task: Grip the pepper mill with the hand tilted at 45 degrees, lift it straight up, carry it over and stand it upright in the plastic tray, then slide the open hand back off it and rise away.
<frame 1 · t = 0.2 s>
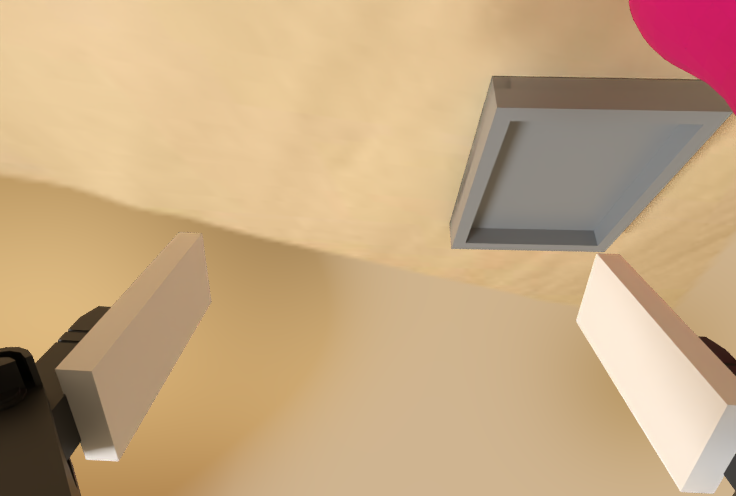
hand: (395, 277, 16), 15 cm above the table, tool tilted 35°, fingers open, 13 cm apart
tray: (555, 166, 34), on the table
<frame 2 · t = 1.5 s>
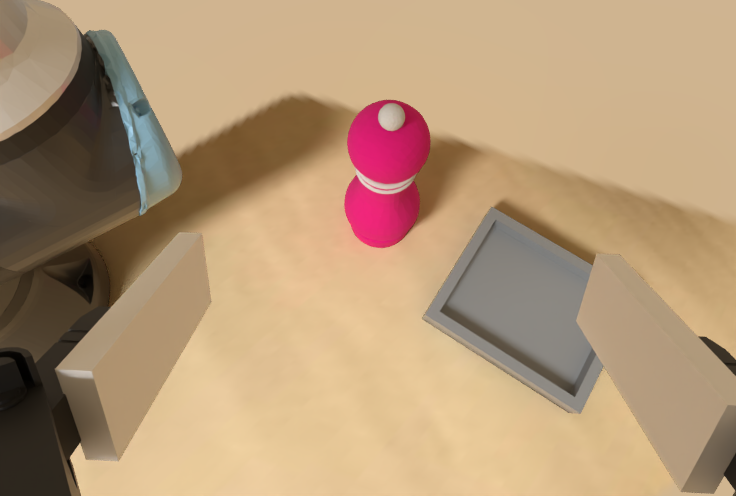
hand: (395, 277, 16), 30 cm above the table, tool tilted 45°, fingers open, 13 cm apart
tray: (524, 307, 46), on the table
pepper mill: (380, 220, 49), on the table
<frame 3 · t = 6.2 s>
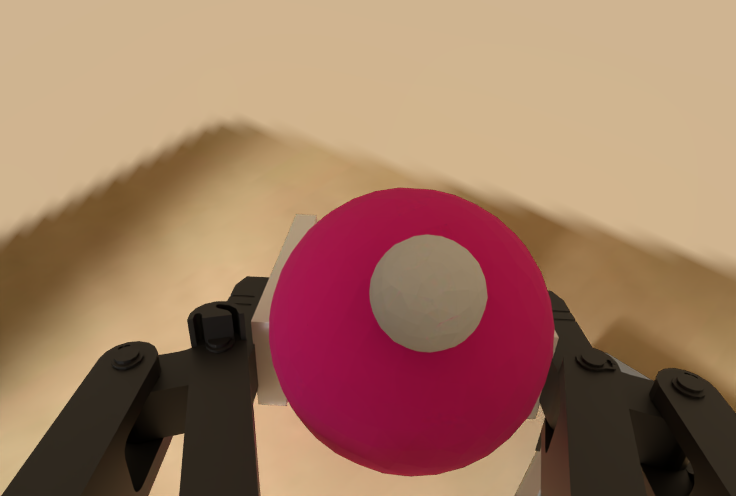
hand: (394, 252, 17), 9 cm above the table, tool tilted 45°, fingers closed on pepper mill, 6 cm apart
pepper mill: (381, 367, 26), on the table, touching gripper
when the fingers open (11 cm above the table, at t = 13.2 s): pepper mill stays where it is, resting on tray.
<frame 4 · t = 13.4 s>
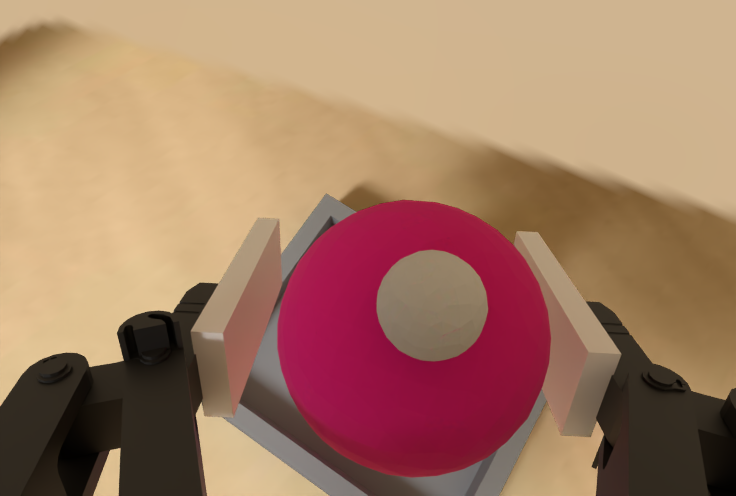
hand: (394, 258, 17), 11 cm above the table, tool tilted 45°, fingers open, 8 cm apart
tray: (380, 368, 27), on the table
pepper mill: (380, 368, 26), point 1 cm above the table, touching tray
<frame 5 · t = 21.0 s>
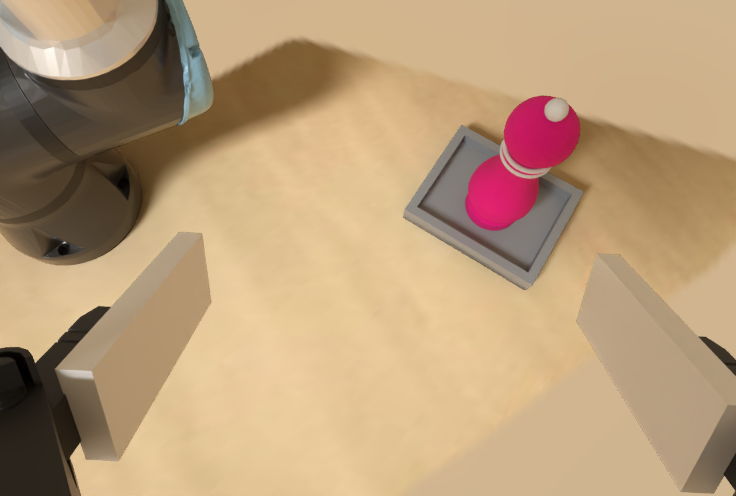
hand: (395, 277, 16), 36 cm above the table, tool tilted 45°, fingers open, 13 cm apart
tray: (489, 208, 55), on the table
pepper mill: (491, 206, 54), point 1 cm above the table, touching tray
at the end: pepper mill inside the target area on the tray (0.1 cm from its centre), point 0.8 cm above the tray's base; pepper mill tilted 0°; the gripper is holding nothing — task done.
